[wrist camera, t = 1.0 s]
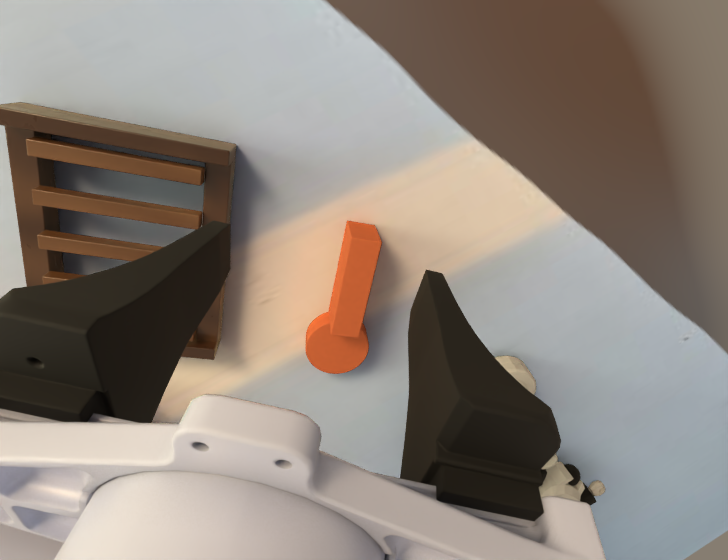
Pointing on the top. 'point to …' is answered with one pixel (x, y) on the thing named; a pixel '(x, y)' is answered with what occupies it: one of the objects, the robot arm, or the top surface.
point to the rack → (42, 198)
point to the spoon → (346, 304)
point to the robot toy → (568, 484)
